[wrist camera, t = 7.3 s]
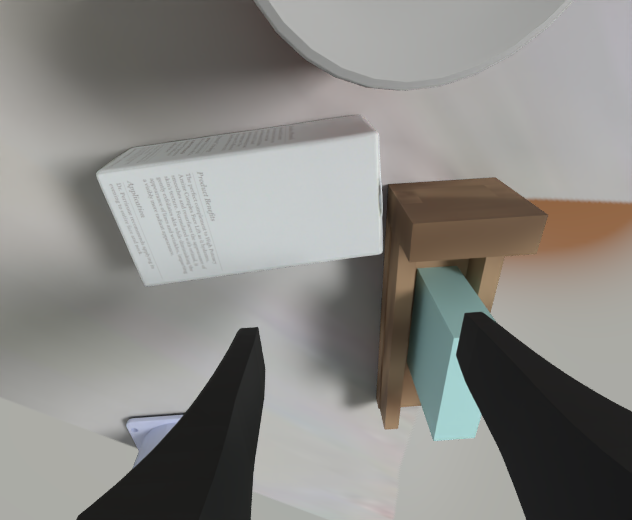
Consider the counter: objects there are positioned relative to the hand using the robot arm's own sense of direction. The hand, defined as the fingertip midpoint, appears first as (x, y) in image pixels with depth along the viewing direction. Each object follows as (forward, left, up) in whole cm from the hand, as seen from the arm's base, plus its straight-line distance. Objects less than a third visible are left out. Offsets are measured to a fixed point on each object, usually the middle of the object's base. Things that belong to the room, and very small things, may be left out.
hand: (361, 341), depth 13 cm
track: (-7, -6, -10) cm, 14 cm away
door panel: (-7, -6, -9) cm, 13 cm away
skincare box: (+2, +10, -8) cm, 13 cm away
